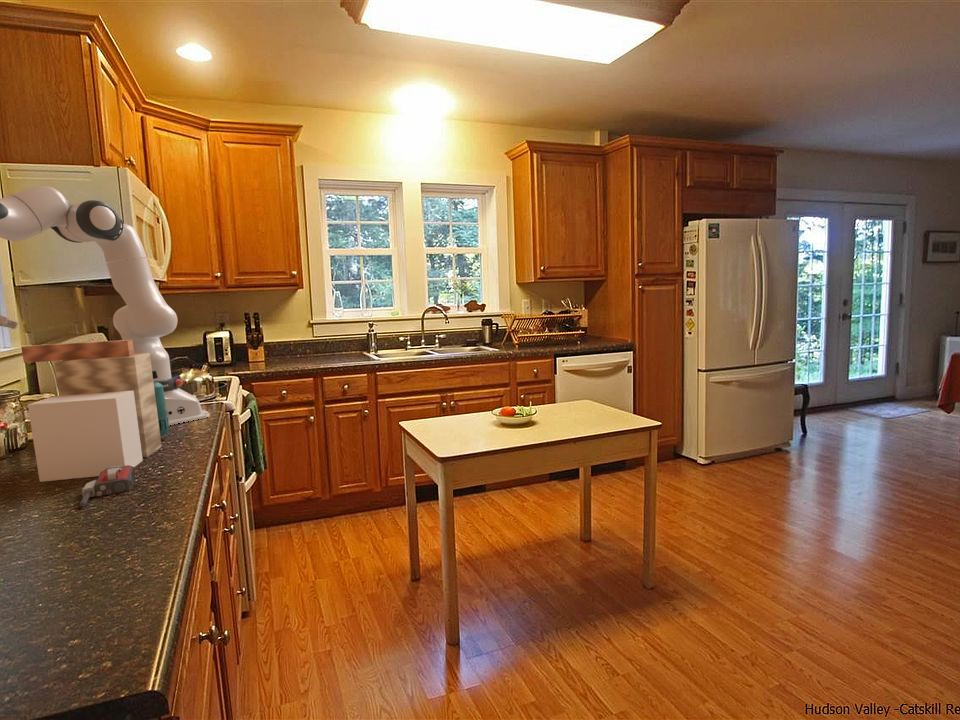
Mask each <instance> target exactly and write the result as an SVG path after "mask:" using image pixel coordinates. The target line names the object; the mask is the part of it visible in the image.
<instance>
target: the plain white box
mask: <svg viewBox="0 0 960 720" xmlns="http://www.w3.org/2000/svg"><path fill="white" fill-rule="evenodd" d="M27 409H28V417H29V422H30V428H31V433H32V441H33V447H34V453H35V460H36V465H37V466H36V467H37V472H38V478H39V483H40V482H41V483H42V482H52V481H53V482H54V481H61V480H70V479H71V480H72V479H73V478H74V479H82V478H83V479H84V478H91V477H99V475H100V473H101V472H102V471H104V470H105V469H108V468H110V467H114V466H120V465H121V466H127V465H130V466H133V467H134V468H135V467H137V466H138V465H139V464H140V463H142V462H143V459H144V458H142V451H141V443H140V435H139V428H138V420H137V412H136V405H135V397H134V391H120V392H107V393H93V394H79V395H66V396H59V395H55V396H53V395H52V396H50V397H47V398H44V399H40V400H37V401H34V402H32V403H28V404H27Z"/></svg>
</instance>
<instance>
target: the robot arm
mask: <svg viewBox="0 0 960 720" xmlns="http://www.w3.org/2000/svg"><path fill="white" fill-rule="evenodd" d="M49 229H51V230H53V231H54V232H55V233H56V234H57V235H58V236H59V237H61V238H62V239H64V240H65V241H68V242H72V243H75V244H76V243H78V244H79V243H88V242H95V243H96V244H97V245H98V246H99V247H100V249H101V251H102V252H103V256H104V259H105V263H106V267H107V271H108V273H109V276H110V279H111V283H112V286H113V288H114V290H115V291H116V292H117V293H118V294H119V296H120V297H121V298H122V300H123V301H124V303H125V304H126V305H124V306H122V307H120V308H118V309H117V310H116V311H114V314H113V317H112V323H113V327H114V328H115V330H116V331H117V332H118V333H119V335H120V337H121V340H132V341H133V349H134V354H137V353H150V359H151V367H152V371H156V372H157V376H158V378H156V379H153V382H159V383H160V384H162V385H163V391H164V397H165V401H166V402H165V403H166V412H167V417H168V423H169V425H168V427H171V426H175V425H179V424H178V423H180V424H184V423H183V422H185V423H189V422H194V421H197V420H198V419H199V420H202V419H207V417H208V418H210V416H211V415H210V412H209V410H208V411H207V410H204V409H202V405H201V403H200V401H199V399H198V398H197V397H196V396H194V395H192V394H191V393H189V392H187V391H185V390H183V389H181V388H180V387H182V385H184V381H183V380H182V379H179V378H178V379H177V378H174V377H172V372H171V361H170V360H171V359H170V356H169V353H168V351H166V349H165V348H164V346H163V344H162V341H161V338H162V337H165V336H167V335H170V334H172V333H173V332H174V331H175V330H176V329H177V325H178V323H179V322H178V321H179V320H178V316H177V313H176V311H175V310H173V308H171V306H170V305H168V303H167V302H166V300H165V299H164V297H163V296H162V293H161V292H160V290H159V288H158V286H157V283H156V282H155V280H154V278H153V273H152V271H151V267H150V264H149V260H148V257H147V253H146V251H145V248H144V245H143V243H142V240H141V239H140V237H139V234H138V232H137V231H136V229H135V228H134V226H132V225H131V224H130V225H129V224H126V223H124V222H123V220H122V219H121V217H120V216H119V215H118V213H117V211H116V210H115V209H114V208H113V207H112V206H111V205H110V204H108V203H106V202H104V201H100V200H96V199H95V200H93V199H91V200H90V199H89V200H86V201H79V202H74V203H72V202H69V200H67V199H66V197H65V196H64V194H62V192H60V191H59V190H58V189H56V188H55V187H52V186H48V185H40V186H35V187H30V188H26V189H24V190H20V191H17V192H14V193H11V194H9V195H6V196H4V197H1V198H0V238H2V239H3V240H6V241H9V242H10V241H11V242H20V241H24V240H28V239H31V238H32V237H35V236H37V235H39V234H40V233H42V232H44V231H47V230H49ZM18 326H19V323H18V322H17V321H13V320H10V319H9V318H8V317H7V316H5V315H4V316H3V315H1V314H0V327H4V328H9V329H12V330H16V329H18ZM193 420H194V421H193ZM188 421H189V422H188ZM174 424H175V425H174ZM170 425H171V426H170Z"/></svg>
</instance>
